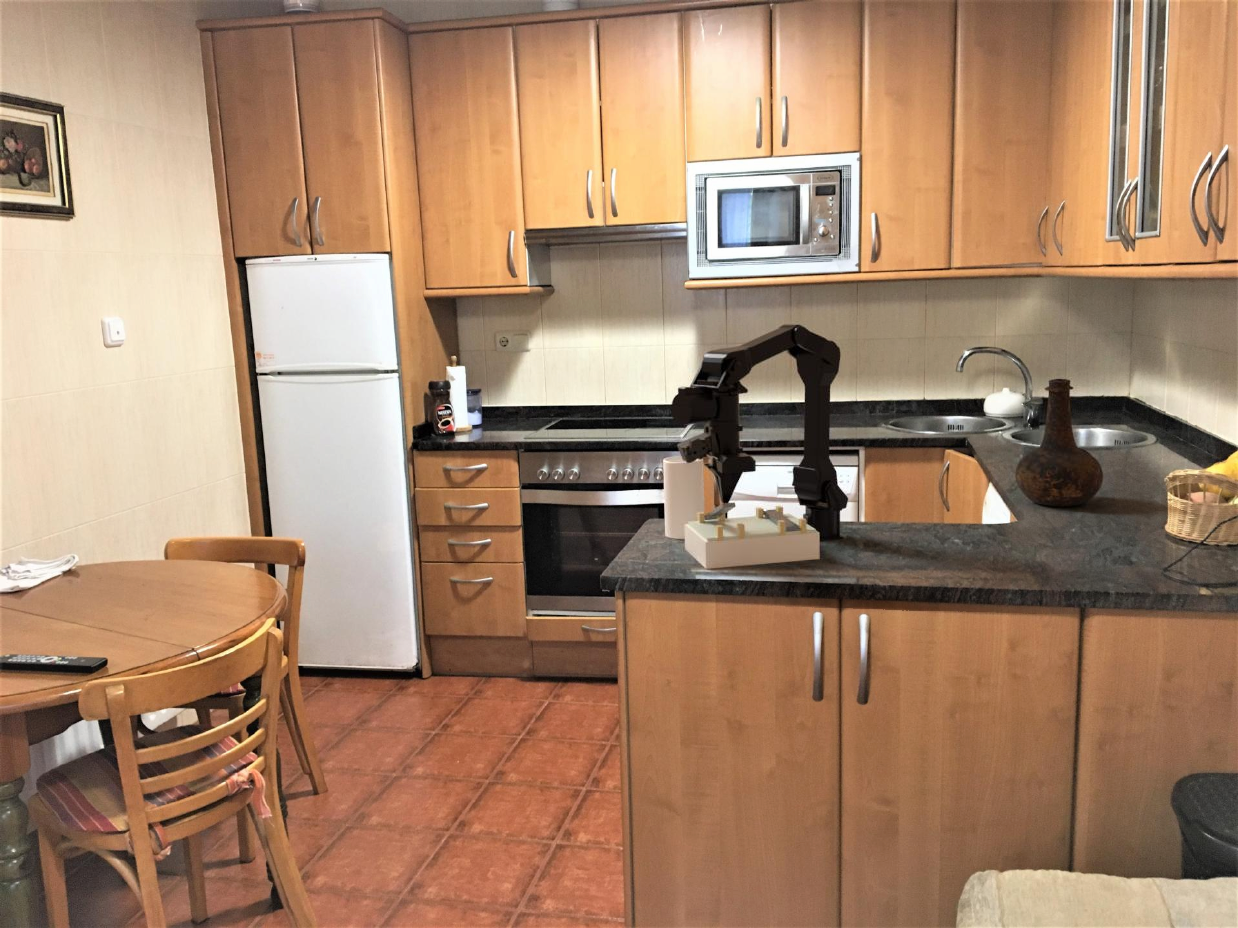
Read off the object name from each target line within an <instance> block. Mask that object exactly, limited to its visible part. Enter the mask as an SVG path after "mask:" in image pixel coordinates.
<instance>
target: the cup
mask: <svg viewBox="0 0 1238 928" xmlns="http://www.w3.org/2000/svg"><path fill="white" fill-rule="evenodd" d="M662 462H663V463H662V464H663V466H662V467H663V496H664V497H663V499H664V501H663V503H664V505H663V506H664V534H665V535H664V536H665V537H666V538H668V539H669V538H670V539H674V540H685V524H688V522H689V521H697V512H703V513H704V514H705V491H704V490H705V487H704V483H705V482H704V479H705V478H704V477H705V476H704V458H703V459H702V460H699V459H696V461H694V462H691V463H687V462H686V461H685V460H684V461H683V459H682V456H681V455H676V456H668V457H665V458H663V461H662Z"/></svg>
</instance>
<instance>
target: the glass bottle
mask: <svg viewBox="0 0 1238 928" xmlns="http://www.w3.org/2000/svg"><path fill="white" fill-rule="evenodd" d="M1071 390H1074V387H1073V386H1072V385H1071V380H1070V379H1067V378H1053V379H1050V380H1048V386H1046V387H1045V388H1044V391H1046V392H1048V397H1047V407H1046V408H1047V410H1046V411H1047V412H1046V419H1045V426H1044V431H1043V438H1042V441H1041V444H1040V445H1039V447H1038V448H1037V449H1034V450H1032V451H1030V452H1028V453H1026V454H1025V455H1024V456H1023V457H1021V458H1020V460H1019V461H1018V462H1017V465H1016V469H1015V472H1014V473H1015V474H1014V478H1015V481H1016V484H1017V487H1018V488H1019V490H1020V491H1021V493H1022V494H1023V495H1025V497H1026V498H1028V499H1029V500H1030V501H1032V502H1033V503H1036V504H1039V505H1041V506H1042V505H1043V506H1049V507H1061V508H1063V507H1064V508H1065V507H1075V506H1080V505H1082V504H1085V503H1087V502H1089V501H1090V500H1092V499H1093V498H1094V497H1095V495H1097V494H1098V492H1099V491H1100V489H1101V487H1102V484H1103V480H1104V473H1103V469H1102V466H1101V463H1100V462H1099V460H1098V459H1097V458H1096V457H1095V456H1093V455H1092V454H1091V453H1090V452H1088V450H1086V449H1084V448H1082V447H1078V445H1077V443H1076V440H1075V436H1074V433H1073V426H1072V425H1073V424H1072V415H1071V414H1072V413H1071V394H1070V393H1071Z"/></svg>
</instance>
